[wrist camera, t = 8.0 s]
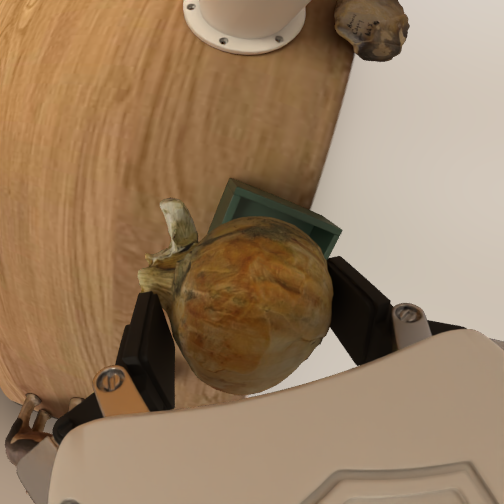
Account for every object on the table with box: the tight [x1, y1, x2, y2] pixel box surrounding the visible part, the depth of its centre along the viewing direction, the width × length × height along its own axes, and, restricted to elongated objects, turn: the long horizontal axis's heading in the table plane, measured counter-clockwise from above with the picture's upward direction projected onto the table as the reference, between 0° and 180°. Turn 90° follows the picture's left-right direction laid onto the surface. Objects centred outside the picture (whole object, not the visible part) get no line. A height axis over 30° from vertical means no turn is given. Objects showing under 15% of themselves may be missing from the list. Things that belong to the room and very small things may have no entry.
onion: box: [138, 198, 333, 395], centre depth 12 cm, size 8×8×8 cm
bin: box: [207, 178, 342, 260], centre depth 28 cm, size 11×11×5 cm
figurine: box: [5, 394, 84, 495], centre depth 22 cm, size 10×23×30 cm, turn 96°
